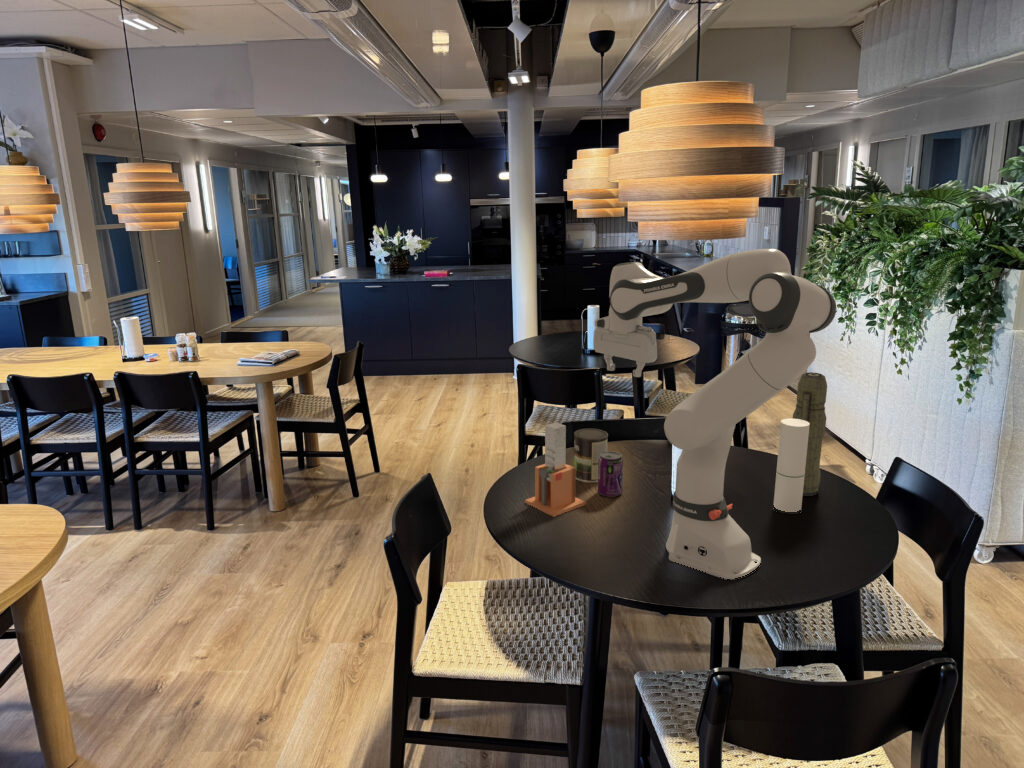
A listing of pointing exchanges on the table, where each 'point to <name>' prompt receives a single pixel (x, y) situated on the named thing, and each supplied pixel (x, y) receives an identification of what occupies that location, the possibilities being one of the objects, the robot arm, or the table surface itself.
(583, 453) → the coffee can
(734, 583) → the table surface
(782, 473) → the cylindrical container
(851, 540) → the table surface
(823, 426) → the thermos
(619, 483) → the beverage can
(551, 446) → the column
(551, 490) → the stand base
